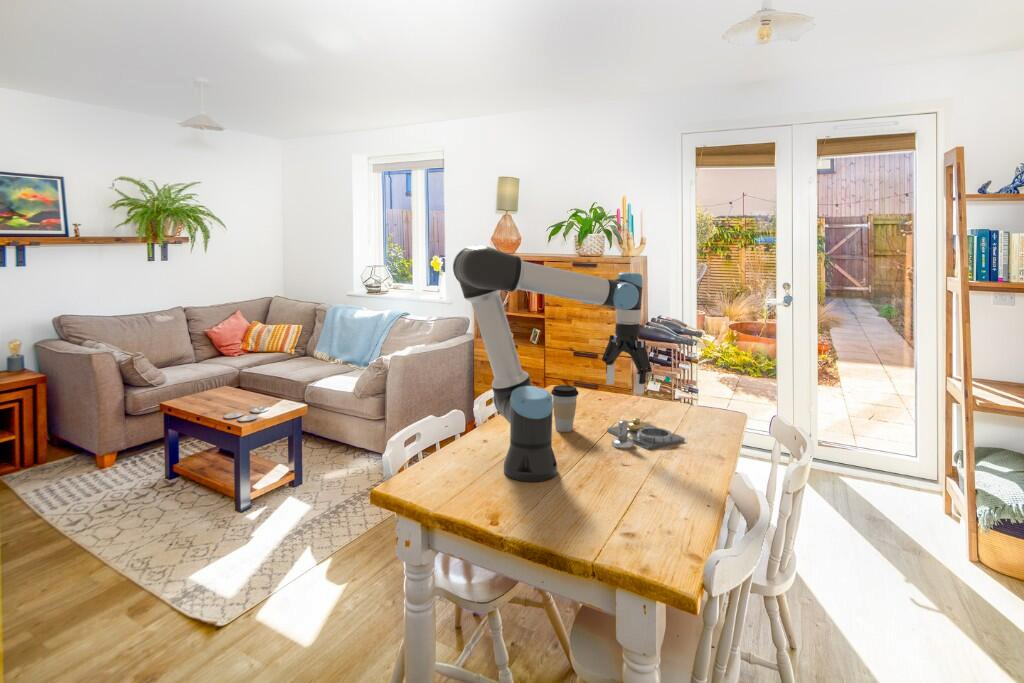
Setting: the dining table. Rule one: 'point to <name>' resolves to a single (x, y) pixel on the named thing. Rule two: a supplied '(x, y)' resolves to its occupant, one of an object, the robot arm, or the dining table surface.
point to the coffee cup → (564, 406)
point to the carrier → (648, 435)
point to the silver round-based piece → (622, 437)
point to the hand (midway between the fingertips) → (624, 388)
